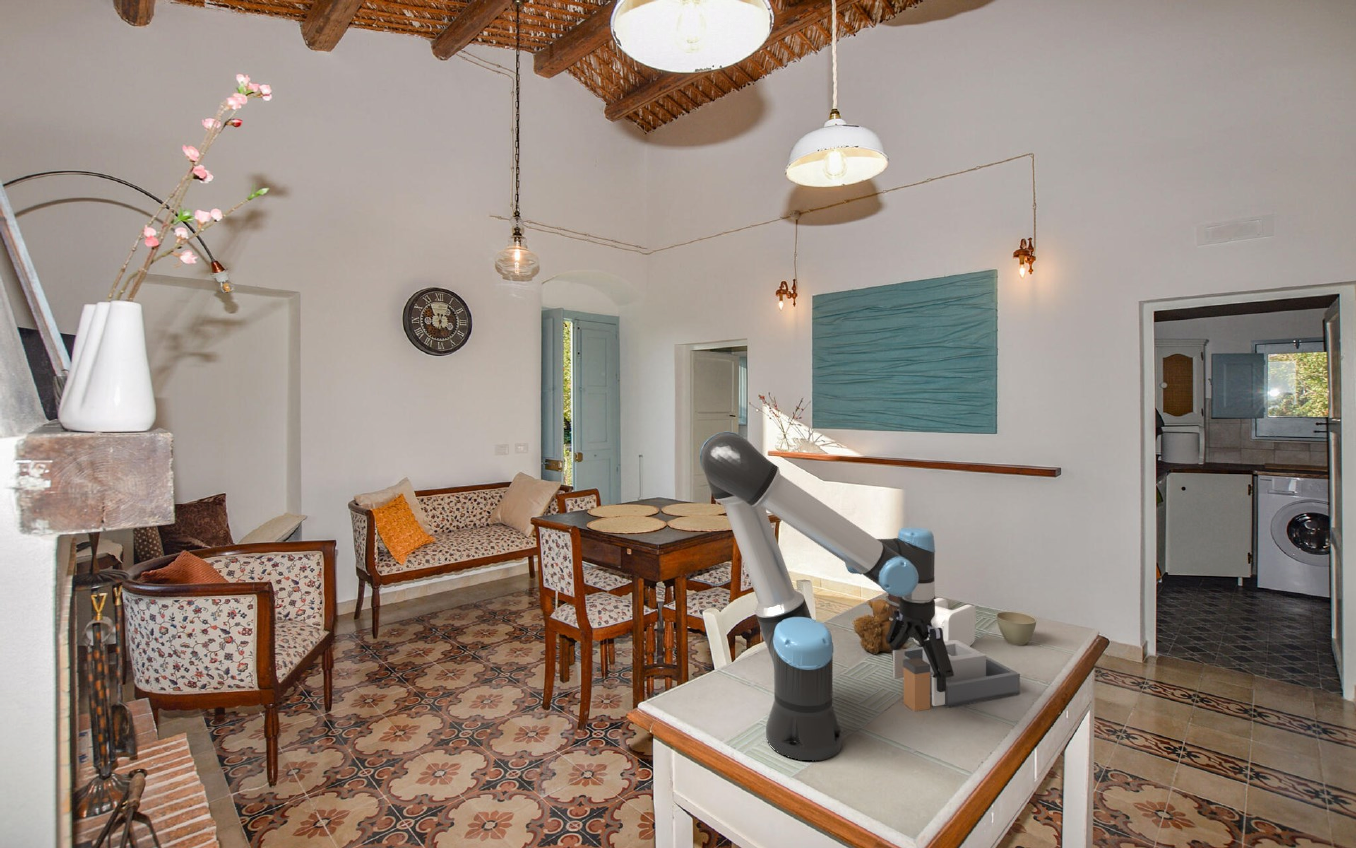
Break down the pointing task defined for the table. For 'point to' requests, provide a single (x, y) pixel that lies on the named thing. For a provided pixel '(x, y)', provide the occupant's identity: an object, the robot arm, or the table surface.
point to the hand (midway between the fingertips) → (917, 690)
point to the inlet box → (972, 675)
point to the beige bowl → (1016, 627)
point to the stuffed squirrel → (875, 627)
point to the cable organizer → (954, 622)
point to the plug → (916, 684)
